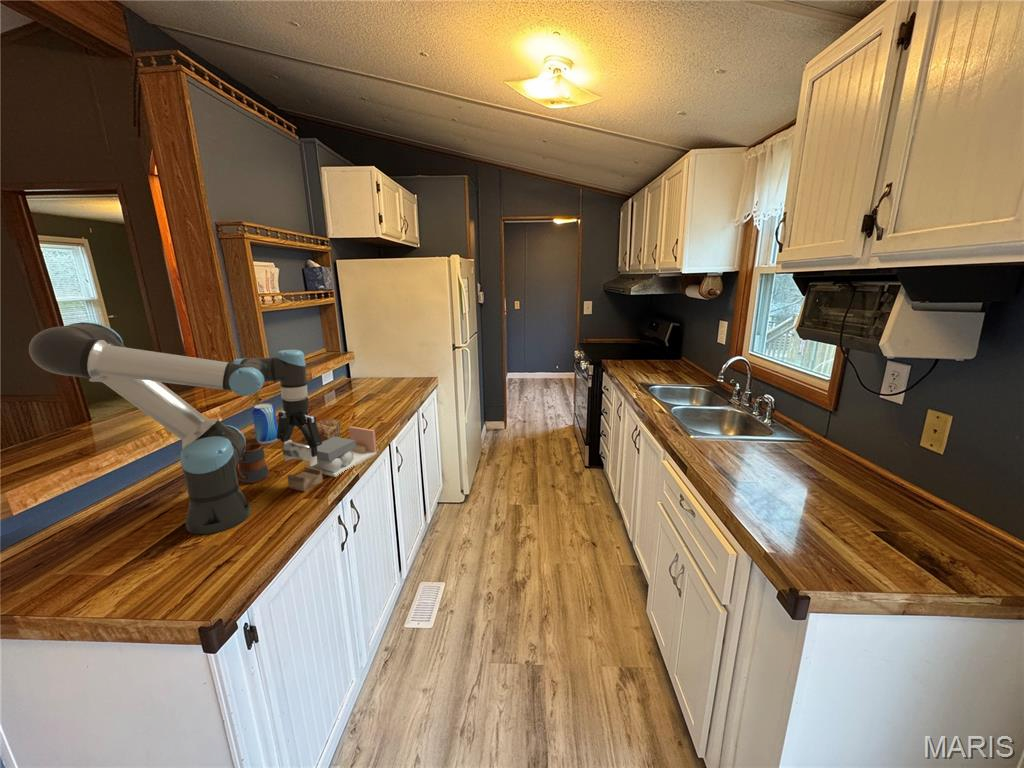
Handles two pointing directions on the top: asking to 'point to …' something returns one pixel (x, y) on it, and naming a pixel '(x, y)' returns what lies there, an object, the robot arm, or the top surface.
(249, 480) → the mug
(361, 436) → the roller bed
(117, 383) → the robot arm
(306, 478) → the rack
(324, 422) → the bread
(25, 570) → the top surface
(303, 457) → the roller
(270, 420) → the beer can
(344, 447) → the slab
